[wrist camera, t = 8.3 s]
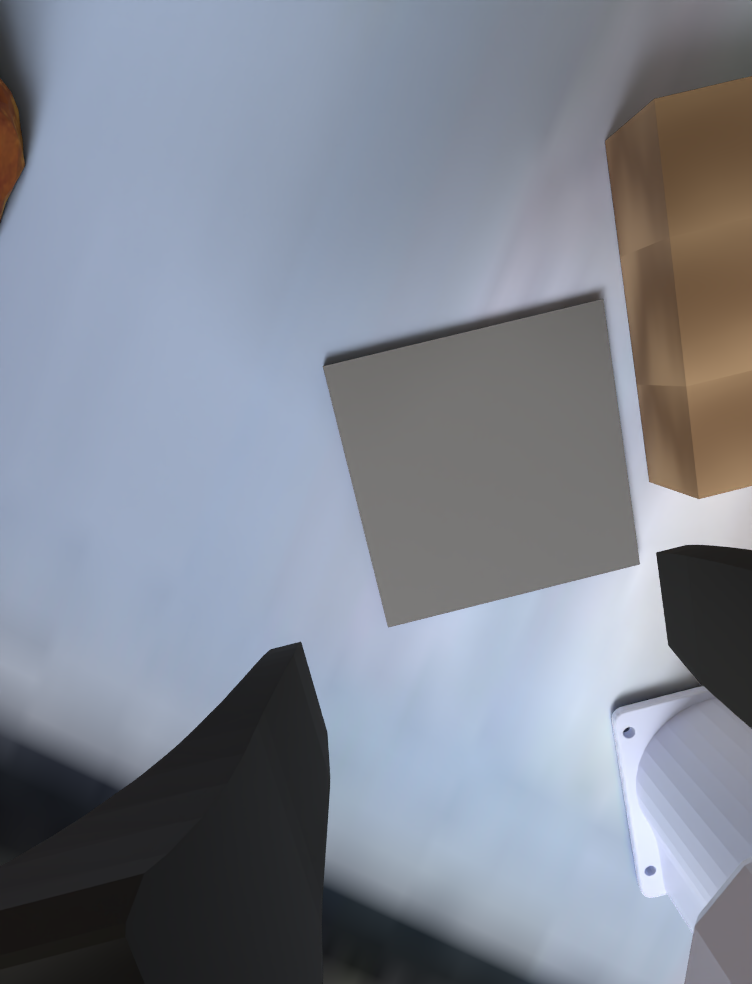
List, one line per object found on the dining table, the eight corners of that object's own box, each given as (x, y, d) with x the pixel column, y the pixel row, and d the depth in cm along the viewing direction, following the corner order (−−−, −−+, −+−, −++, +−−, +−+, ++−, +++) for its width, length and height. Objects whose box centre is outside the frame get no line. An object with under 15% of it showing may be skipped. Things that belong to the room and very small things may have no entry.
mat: (634, 561, 22) (639, 564, 22) (387, 622, 22) (388, 627, 22) (597, 300, 20) (603, 299, 20) (323, 366, 20) (323, 366, 19)
